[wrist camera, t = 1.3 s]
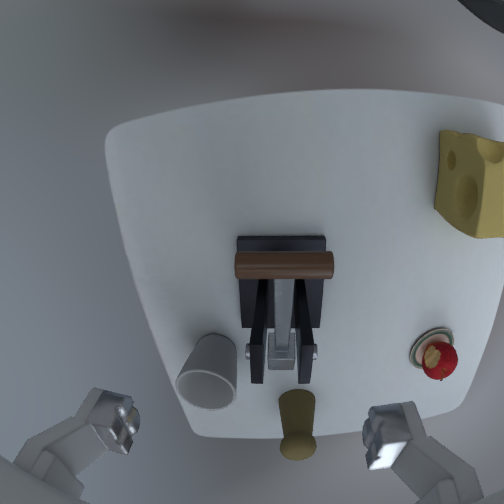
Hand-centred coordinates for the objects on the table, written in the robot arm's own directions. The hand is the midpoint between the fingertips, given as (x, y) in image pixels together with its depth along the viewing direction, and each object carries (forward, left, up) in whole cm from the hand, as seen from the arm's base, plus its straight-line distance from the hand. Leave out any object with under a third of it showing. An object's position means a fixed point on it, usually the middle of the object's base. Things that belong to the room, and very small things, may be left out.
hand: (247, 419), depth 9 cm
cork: (+31, +4, -27) cm, 41 cm away
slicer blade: (+3, +1, -12) cm, 13 cm away
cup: (+21, -8, -27) cm, 35 cm away
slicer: (+9, +1, -27) cm, 28 cm away
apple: (+21, +25, -27) cm, 42 cm away
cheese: (-5, +25, -27) cm, 37 cm away
